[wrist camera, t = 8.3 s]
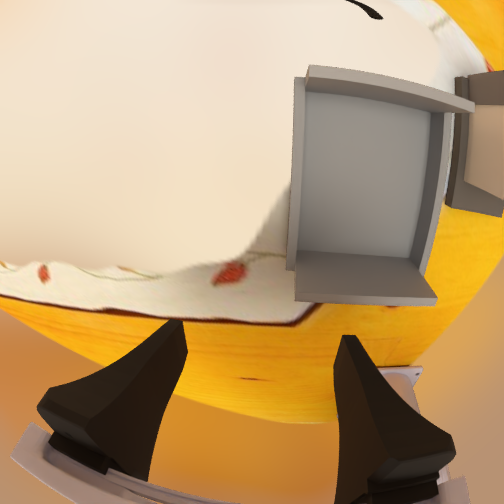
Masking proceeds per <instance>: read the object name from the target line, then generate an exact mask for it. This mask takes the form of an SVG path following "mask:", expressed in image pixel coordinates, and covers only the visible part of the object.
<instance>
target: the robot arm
mask: <svg viewBox="0 0 504 504" xmlns="http://www.w3.org/2000/svg"><path fill="white" fill-rule="evenodd" d="M187 354H188V349H187V344H186V339H185V333H184V327H183V321H180V320H173V319H170V320H169V321H167V322H166V323H165V324H164V325H163V326H161V327H160V328H159V329H158V330H157V331H156V332H154V333H153V334H152V335H151V336H150V337H148V338H147V339H146V340H145V341H143V342H142V343H141V344H140V345H138V346H137V347H136V348H134V349H133V350H132V351H130V352H129V353H128V354H126V355H125V356H123V357H122V358H120V359H119V360H117V361H116V362H114V363H112V364H111V365H109V366H107V367H105V368H103V369H101V370H99V371H97V372H95V373H93V374H91V375H89V376H87V377H84V378H81V379H79V380H76V381H73V382H70V383H67V384H63V385H59V386H55V387H51V388H49V389H48V391H47V392H46V394H45V395H44V397H43V398H42V399H41V401H40V402H39V404H38V405H37V411H38V412H39V414H40V415H41V417H42V418H43V419H44V420H45V421H46V422H47V424H48V425H49V426H50V427H51V428H52V429H53V430H54V433H53V434H52V435H51V434H50V433H48V432H47V431H46V430H43V429H42V428H41V427H39V426H38V425H36V424H34V423H33V422H31V423H30V424H29V426H28V427H27V429H26V430H25V432H24V433H23V435H22V437H21V438H20V440H19V442H18V443H17V445H16V447H15V448H14V450H13V452H12V453H11V455H10V457H11V458H12V459H13V460H14V461H15V462H16V463H18V464H19V465H20V466H21V467H23V468H24V469H25V470H27V471H28V472H29V473H30V474H32V475H33V476H34V477H36V478H37V479H39V480H40V481H41V482H43V483H44V484H46V485H47V486H49V487H50V488H52V489H53V490H55V491H56V492H58V493H59V494H61V495H62V496H64V497H66V498H67V499H69V500H71V501H73V502H74V503H76V504H157V503H155V502H152V501H150V500H148V499H151V500H154V501H156V502H160V503H163V504H239V503H232V502H225V501H220V500H214V499H209V498H204V497H199V496H195V495H190V494H186V493H182V492H178V491H175V490H171V489H167V488H164V487H161V486H157V485H154V484H151V483H148V482H147V481H148V476H149V470H150V464H151V459H152V455H153V450H154V446H155V442H156V438H157V434H158V431H159V427H160V424H161V421H162V417H163V414H164V411H165V409H166V406H167V404H168V402H169V399H170V397H171V395H172V393H173V391H174V388H175V386H176V384H177V382H178V380H179V377H180V375H181V373H182V370H183V367H184V364H185V361H186V357H187ZM333 369H334V391H335V398H336V406H337V413H338V414H337V418H338V421H339V435H340V437H339V466H338V478H337V487H336V495H335V502H334V504H470V499H469V493H468V488H467V483H466V478H465V476H461V477H458V478H455V479H452V480H451V478H450V473H449V468H448V463H449V462H451V460H453V459H454V457H455V455H456V450H455V446H454V442H453V439H452V437H451V435H450V434H448V433H447V432H445V431H443V430H442V429H440V428H438V427H437V426H435V425H434V424H432V423H431V422H429V421H428V420H426V419H425V418H424V417H423V416H421V414H420V410H419V407H418V404H417V400H416V397H415V393H414V390H413V386H414V385H415V383H416V381H417V380H418V378H419V376H420V375H421V373H422V371H423V367H422V366H409V367H391V368H377V367H376V366H375V364H374V363H373V361H372V360H371V358H370V357H369V355H368V354H367V352H366V351H365V349H364V347H363V346H362V344H361V343H360V341H359V339H358V338H357V336H356V335H342V338H341V342H340V345H339V349H338V352H337V356H336V359H335V362H334V365H333ZM138 495H139V496H138ZM140 496H142V497H140ZM143 497H144V498H143ZM145 498H147V499H145Z"/></svg>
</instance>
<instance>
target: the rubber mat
mask: <svg viewBox="0 0 504 504" xmlns="http://www.w3.org/2000/svg"><path fill="white" fill-rule="evenodd" d="M455 95H456V96H458V97H461V98H464V99H466V100H468V79H467V78H464V77H462V76H461V77H456V78H455ZM469 117H470V113H455V127H454V141H453V152H452V162H451V170H450V177H449V184H448V190H447V196H446V202H445V204H446V205H448V206H449V207H451V208H455V209H461V210H466V211H471V212H477V213H482V214H486V215H491V216H496V217H501V218H502V213H503V209H504V200H502V199H500V198H499V197H497V196H495V195H493V194H491V193H489V192H487V191H485V190H482V189H480V188H478V187H476V186H474V185H472V184H470V183H467V182H465V181H464V174H465V167H466V158H467V149H468V136H469Z"/></svg>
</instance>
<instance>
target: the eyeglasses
mask: <svg viewBox="0 0 504 504" xmlns="http://www.w3.org/2000/svg"><path fill="white" fill-rule="evenodd" d="M346 1H349V2H351V3H354V4H356V5H358V6H359V7H361V8H362V9H363V10H364V11H365V12H366V13H367V14H368V15H369V16H370V17H371V18H373V19H377V20H382V19H383V17H382V16H381V15H379V13H377V12H376V11H375V10H374V9H372V8H370V7H369V6H367V5H365V4H362V3H360V2H357V1H355V0H346Z"/></svg>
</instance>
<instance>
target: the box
mask: <svg viewBox="0 0 504 504" xmlns="http://www.w3.org/2000/svg"><path fill="white" fill-rule="evenodd" d="M468 100H469V101H472V102H474V103H475V113H470V117H469V136H468V149H467V158H466V167H465V174H464V181H465V182H467V183H470V184H472V185H474V186H476V187H478V188H480V189H482V190H485V191H487V192H489V193H491V194H493V195H495V196H497V197H499V198H500V199H502V200H504V70H502V71H494V72H487V73H480V74H474V75H468Z"/></svg>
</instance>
